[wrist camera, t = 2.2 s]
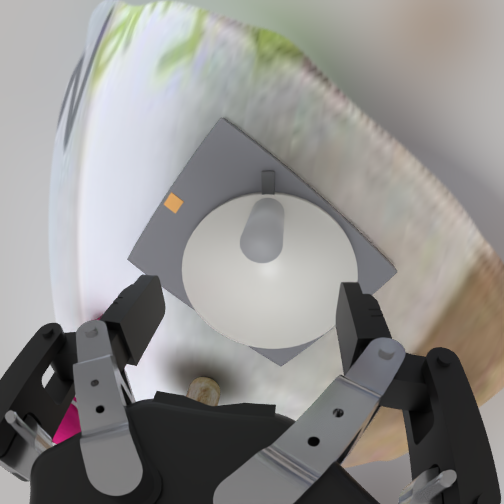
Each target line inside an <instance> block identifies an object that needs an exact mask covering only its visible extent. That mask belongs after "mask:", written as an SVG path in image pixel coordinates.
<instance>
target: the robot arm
mask: <svg viewBox="0 0 504 504" xmlns="http://www.w3.org/2000/svg"><path fill="white" fill-rule="evenodd" d="M164 314H165V301H164V297H163V292H162V288H161V283H160V279H159V277H158V276H156V275H141V276H140V277H139V278H138V279H137V281H136V282H135V283H134V284H132V285H130V286H129V287H127V288H125V289H124V290H123V291H122V292H121V293H120V294H119V296H118V298H116V299H115V300H114V302H113V303H112V304H111V305H110V307H109V308H108V309H107V310H106V312H105V313H104V314H103V315H102V317H101V318H100V319H99V320H91V321H88V322H86V323H84V324H82V325H81V326H80V327H79V328H78V330H77V332H70V333H64V332H63V330H62V327H61V326H60V325H59V324H58V323H49V324H46V325H44V326H42V327H41V328H40V329H39V330H38V331H37V332H36V333H35V335H34V336H33V337H32V338H31V340H30V341H29V342H28V343H27V345H26V346H25V347H24V348H23V350H22V351H21V352H20V354H19V355H18V356H17V358H16V359H15V360H14V362H13V363H12V364H11V366H10V367H9V369H8V370H7V371H6V372H5V374H4V375H3V377H2V378H1V380H0V466H2V467H3V468H4V469H5V470H7V471H8V472H11V473H12V474H13V475H15V476H16V477H17V478H19V479H20V480H22V481H30V486H31V492H30V504H380V503H379V502H378V501H376V500H375V499H374V498H373V497H372V496H371V495H370V494H369V493H368V492H367V491H366V490H365V489H364V488H363V487H362V486H361V485H360V484H359V483H358V482H357V481H356V480H355V479H354V478H353V477H352V476H350V474H349V473H347V471H345V469H344V468H343V467H342V466H341V464H342V463H343V462H344V460H345V459H346V458H347V457H348V455H349V454H350V452H351V451H352V450H353V448H354V447H355V445H356V444H357V442H358V441H359V439H360V438H361V436H362V435H363V434H364V432H365V431H366V429H367V428H368V426H369V425H370V423H371V422H372V420H373V419H374V417H375V416H376V414H377V413H378V411H379V410H380V408H381V406H384V407H390V408H395V409H401V410H402V411H403V416H404V422H405V428H406V434H407V441H408V448H409V455H410V463H411V472H412V482H411V483H410V484H408V485H407V486H406V487H405V488H404V489H403V491H402V492H401V494H400V497H399V503H398V504H500V503H501V494H500V489H499V483H498V478H497V473H496V468H495V464H494V460H493V456H492V452H491V448H490V444H489V441H488V437H487V434H486V430H485V427H484V424H483V421H482V418H481V415H480V412H479V409H478V406H477V403H476V400H475V398H474V395H473V392H472V390H471V387H470V384H469V382H468V379H467V377H466V374H465V372H464V370H463V367H462V365H461V363H460V360H459V358H458V357H457V355H456V354H455V353H454V352H452V351H451V350H449V349H446V348H442V347H438V348H433V349H432V350H430V351H429V352H428V354H427V356H426V357H423V356H417V355H412V354H408V353H406V352H405V349H404V347H403V346H402V345H401V344H400V343H399V342H398V341H396V340H394V339H392V337H391V334H390V332H389V329H388V326H387V324H386V321H385V319H384V317H383V314H382V311H381V310H380V306H379V304H378V301H377V300H376V299H375V298H374V297H373V296H372V295H371V294H363V293H362V290H361V287H360V284H359V283H358V282H341V284H340V289H339V296H338V302H337V309H336V329H337V335H338V341H339V346H340V352H341V359H342V365H343V372H344V376H342V375H339V376H338V377H336V379H335V380H334V381H333V382H332V383H331V384H330V385H329V386H328V388H327V389H326V390H325V391H324V392H323V393H322V394H321V395H320V397H319V398H318V399H317V400H316V401H315V402H314V403H313V404H312V405H311V406H310V407H309V408H308V409H307V410H306V412H305V413H304V414H303V415H302V416H301V417H300V418H299V419H298V420H297V421H294V420H292V419H290V418H288V417H286V416H283V415H280V414H276V413H275V409H276V405H269V404H252V403H240V404H231V405H221V406H210V405H207V404H204V403H201V402H199V401H196V400H193V399H191V398H188V397H186V396H183V395H177V394H171V393H165V392H160V391H157V392H156V394H155V396H154V399H146V400H141V401H137V402H136V401H135V398H134V395H133V392H132V389H131V386H130V383H129V380H128V376H127V373H126V371H125V369H124V367H125V366H126V364H130V365H135V366H137V364H138V362H139V360H140V359H141V357H142V355H143V353H144V351H145V349H146V348H147V346H148V344H149V342H150V340H151V338H152V337H153V335H154V333H155V331H156V329H157V328H158V326H159V324H160V322H161V320H162V319H163V317H164ZM49 365H51V366H52V368H53V370H54V371H55V372H54V374H53V376H52V377H51V379H50V380H49V382H48V384H47V385H46V387H45V388H44V387H43V385H42V376H43V374H44V373H45V371H46V369H47V368H48V367H49ZM75 395H76V401H77V408H78V414H79V420H80V426H81V432H79V433H77V434H75V435H74V436H72V437H70V438H68V439H66V440H64V441H62V442H60V443H58V444H57V445H54V446H53V445H52V440H53V438H54V436H55V434H56V432H57V430H58V428H59V426H60V424H61V422H62V420H63V418H64V416H65V414H66V412H67V410H68V408H69V406H70V404H71V402H72V400H73V398H74V397H75Z"/></svg>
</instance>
